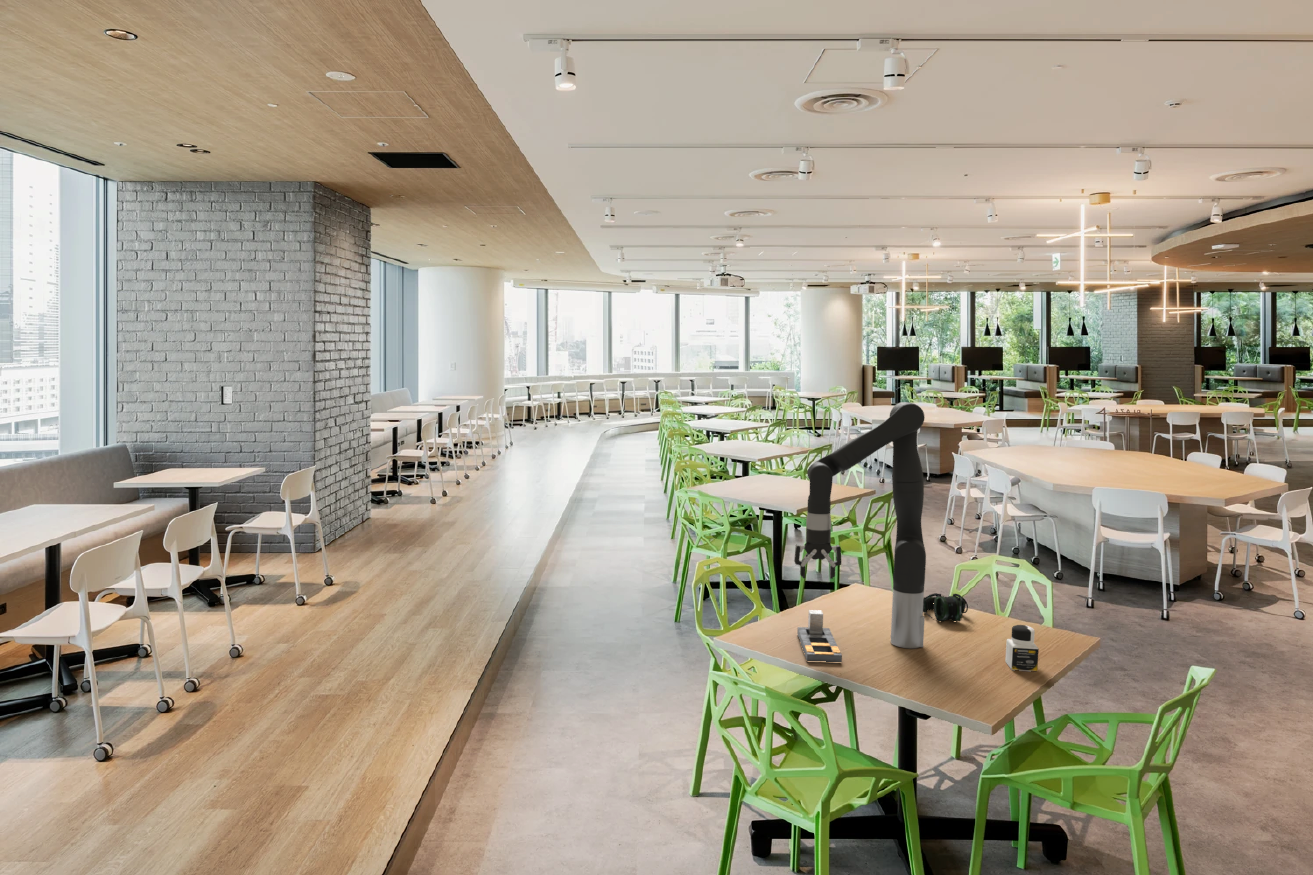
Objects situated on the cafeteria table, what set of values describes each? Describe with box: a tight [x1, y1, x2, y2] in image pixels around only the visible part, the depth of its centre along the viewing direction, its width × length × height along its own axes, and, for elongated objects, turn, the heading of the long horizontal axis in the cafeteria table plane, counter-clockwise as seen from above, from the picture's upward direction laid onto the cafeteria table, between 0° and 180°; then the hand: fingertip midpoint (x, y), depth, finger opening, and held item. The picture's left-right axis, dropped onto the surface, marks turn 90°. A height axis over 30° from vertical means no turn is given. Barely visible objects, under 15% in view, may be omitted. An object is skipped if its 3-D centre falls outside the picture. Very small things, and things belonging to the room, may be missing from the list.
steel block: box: [807, 609, 824, 635], centre depth 268 cm, size 4×4×9 cm
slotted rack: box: [796, 626, 843, 662], centre depth 260 cm, size 10×25×3 cm, turn 177°
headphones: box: [923, 592, 969, 622], centre depth 294 cm, size 13×13×20 cm
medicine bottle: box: [1005, 624, 1040, 672], centre depth 247 cm, size 7×7×12 cm
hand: (817, 578), depth 266 cm, fingers open, 8 cm apart
